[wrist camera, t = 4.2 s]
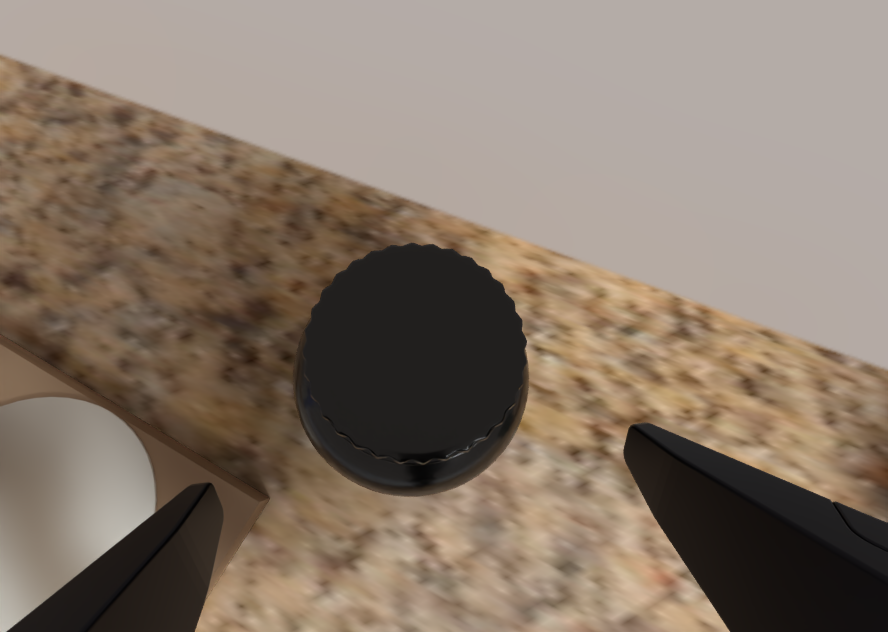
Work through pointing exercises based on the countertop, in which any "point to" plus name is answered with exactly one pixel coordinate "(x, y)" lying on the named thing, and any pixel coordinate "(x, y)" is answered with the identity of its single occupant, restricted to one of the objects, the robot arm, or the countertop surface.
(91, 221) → the countertop surface
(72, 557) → the walnut board
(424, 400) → the supplement bottle
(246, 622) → the countertop surface
